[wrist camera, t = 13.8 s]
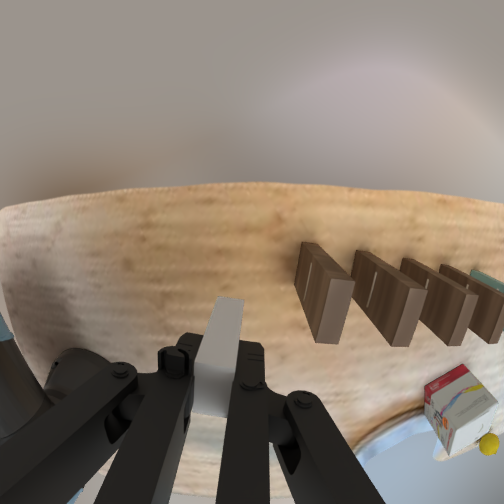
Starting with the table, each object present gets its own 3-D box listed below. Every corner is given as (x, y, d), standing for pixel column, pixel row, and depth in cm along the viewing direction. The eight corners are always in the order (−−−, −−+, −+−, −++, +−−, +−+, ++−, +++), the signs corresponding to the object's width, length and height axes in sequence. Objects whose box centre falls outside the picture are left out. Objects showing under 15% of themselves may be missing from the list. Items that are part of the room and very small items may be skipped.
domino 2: (346, 291, 33) (390, 346, 20) (355, 250, 32) (409, 288, 19) (360, 292, 33) (409, 346, 20) (370, 252, 32) (428, 290, 19)
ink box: (423, 385, 36) (456, 431, 25) (463, 362, 36) (500, 400, 24) (422, 415, 38) (449, 459, 27) (460, 394, 37) (490, 432, 26)
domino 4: (430, 299, 33) (488, 344, 20) (440, 264, 32) (505, 298, 19) (440, 300, 33) (497, 343, 20) (450, 265, 32) (514, 299, 19)
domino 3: (392, 296, 33) (447, 346, 20) (402, 257, 32) (466, 294, 19) (404, 297, 33) (460, 345, 20) (414, 259, 32) (479, 295, 19)
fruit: (488, 425, 41) (502, 444, 33) (492, 429, 41) (506, 447, 34) (472, 441, 42) (485, 460, 34) (477, 444, 42) (489, 462, 35)
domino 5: (461, 302, 33) (517, 341, 20) (471, 269, 32) (532, 300, 19) (469, 303, 33) (524, 340, 20) (479, 271, 32) (538, 301, 19)
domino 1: (293, 284, 33) (314, 342, 20) (301, 241, 32) (330, 278, 19) (309, 286, 33) (338, 344, 20) (318, 244, 32) (355, 281, 19)
